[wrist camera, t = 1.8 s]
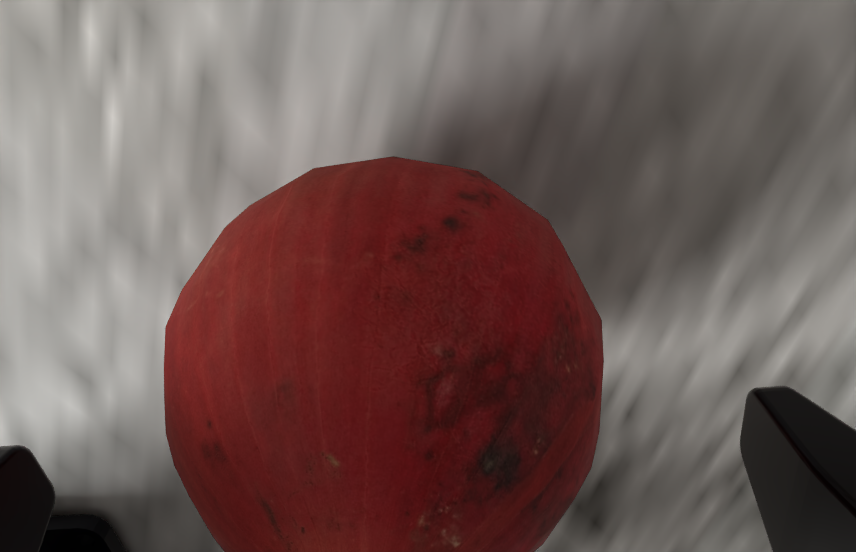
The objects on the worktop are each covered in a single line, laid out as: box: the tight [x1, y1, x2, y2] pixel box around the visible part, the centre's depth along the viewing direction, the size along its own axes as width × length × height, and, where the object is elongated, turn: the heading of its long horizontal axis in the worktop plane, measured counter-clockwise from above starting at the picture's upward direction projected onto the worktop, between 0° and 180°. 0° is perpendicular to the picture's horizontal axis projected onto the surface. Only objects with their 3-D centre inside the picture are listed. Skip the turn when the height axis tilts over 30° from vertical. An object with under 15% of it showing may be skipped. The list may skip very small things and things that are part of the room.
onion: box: [164, 157, 604, 552], centre depth 9 cm, size 6×6×8 cm
